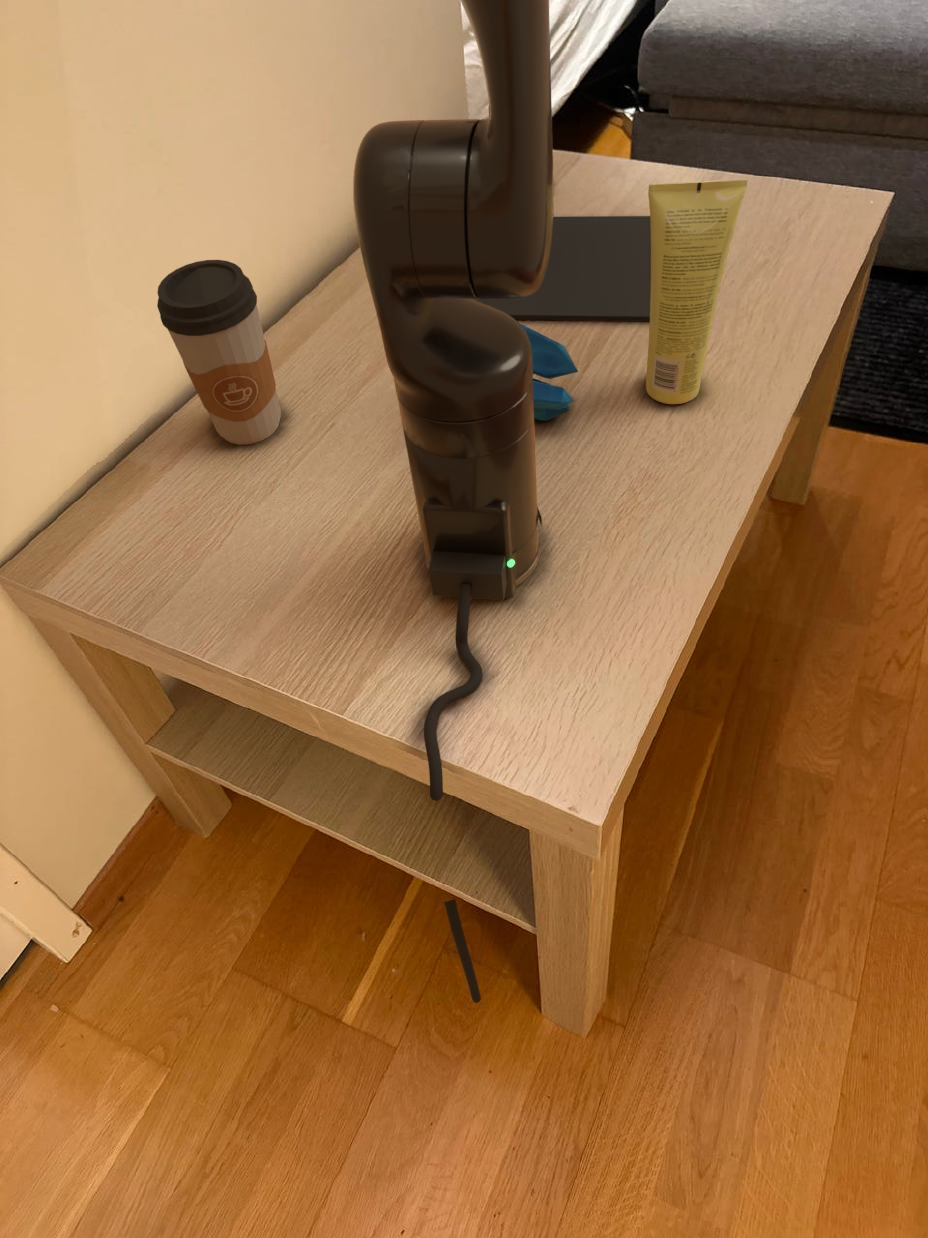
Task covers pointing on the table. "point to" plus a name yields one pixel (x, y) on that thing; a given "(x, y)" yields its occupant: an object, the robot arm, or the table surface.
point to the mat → (591, 272)
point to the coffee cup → (222, 347)
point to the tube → (686, 279)
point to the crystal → (549, 375)
